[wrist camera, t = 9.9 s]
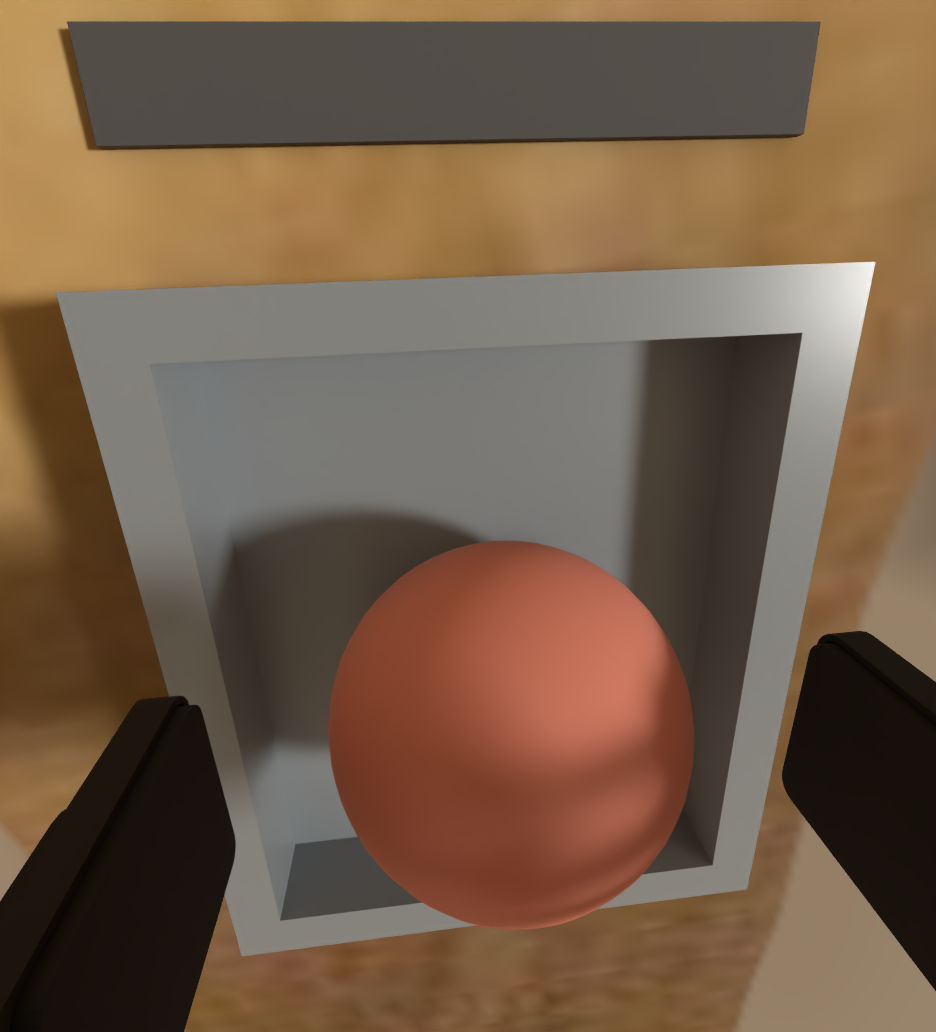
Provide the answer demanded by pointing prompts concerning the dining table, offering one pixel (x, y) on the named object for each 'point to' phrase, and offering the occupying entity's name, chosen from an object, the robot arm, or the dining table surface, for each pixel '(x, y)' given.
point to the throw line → (440, 81)
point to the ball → (511, 735)
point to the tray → (464, 515)
